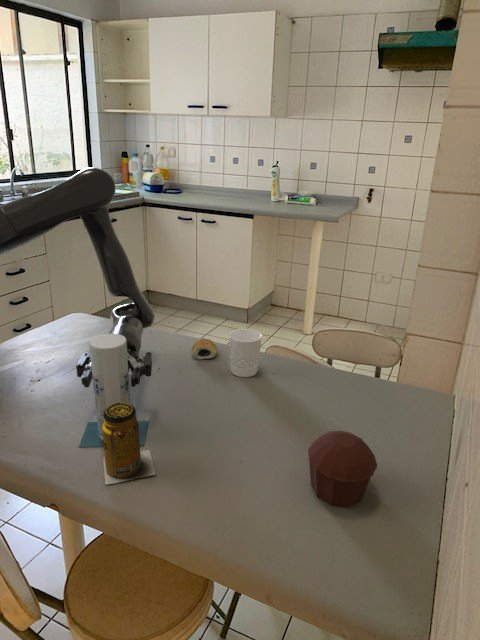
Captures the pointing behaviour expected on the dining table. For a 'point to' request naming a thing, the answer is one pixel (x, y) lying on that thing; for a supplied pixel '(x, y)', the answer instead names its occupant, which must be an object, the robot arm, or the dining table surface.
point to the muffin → (340, 468)
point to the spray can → (109, 373)
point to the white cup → (245, 352)
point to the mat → (94, 440)
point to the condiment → (123, 446)
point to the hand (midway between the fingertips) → (109, 383)
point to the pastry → (204, 349)
